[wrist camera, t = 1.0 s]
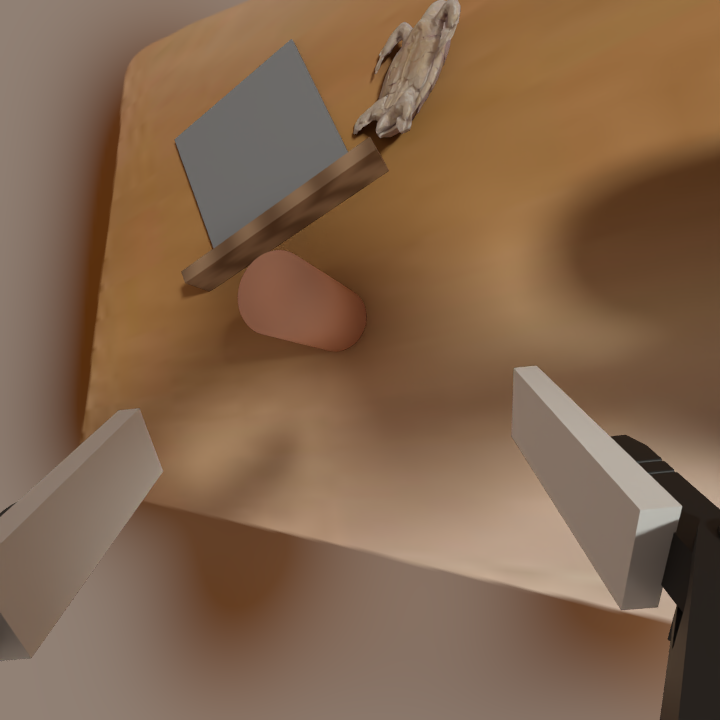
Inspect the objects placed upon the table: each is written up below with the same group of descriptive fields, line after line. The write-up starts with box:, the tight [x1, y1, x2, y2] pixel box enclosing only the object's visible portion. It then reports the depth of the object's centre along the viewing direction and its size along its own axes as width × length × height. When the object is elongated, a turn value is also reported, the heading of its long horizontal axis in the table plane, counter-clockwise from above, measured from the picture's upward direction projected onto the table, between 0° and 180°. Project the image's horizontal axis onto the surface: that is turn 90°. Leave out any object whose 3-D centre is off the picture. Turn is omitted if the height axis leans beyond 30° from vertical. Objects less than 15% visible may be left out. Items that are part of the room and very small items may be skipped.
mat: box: [175, 39, 348, 248], centre depth 49 cm, size 20×18×1 cm
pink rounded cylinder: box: [238, 250, 367, 351], centre depth 38 cm, size 7×7×12 cm
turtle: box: [353, 0, 460, 138], centre depth 40 cm, size 16×10×10 cm, turn 175°
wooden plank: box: [181, 137, 389, 291], centre depth 45 cm, size 26×2×4 cm, turn 115°
